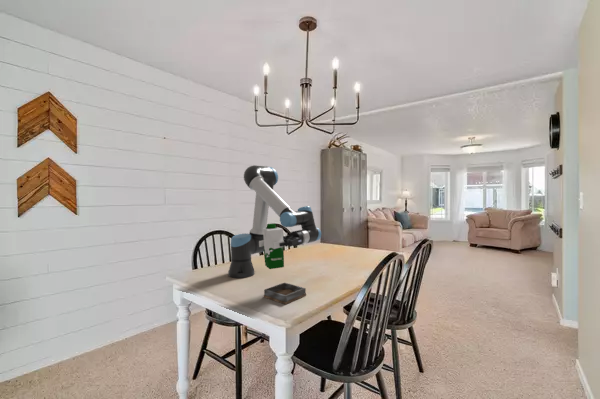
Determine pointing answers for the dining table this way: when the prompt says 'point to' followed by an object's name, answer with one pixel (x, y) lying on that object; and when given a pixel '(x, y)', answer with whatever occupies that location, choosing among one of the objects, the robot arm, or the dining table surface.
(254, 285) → the dining table surface
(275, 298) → the dark gray tray
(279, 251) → the soya milk
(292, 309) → the dining table surface
